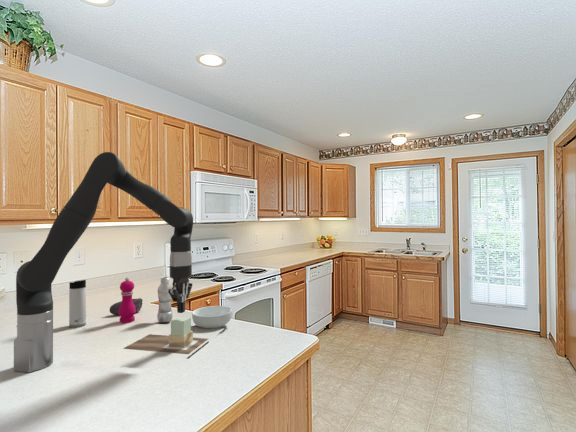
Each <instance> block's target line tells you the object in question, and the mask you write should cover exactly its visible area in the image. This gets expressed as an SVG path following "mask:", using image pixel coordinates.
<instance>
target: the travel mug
mask: <svg viewBox="0 0 576 432" xmlns="http://www.w3.org/2000/svg"><path fill="white" fill-rule="evenodd" d="M68 293H69V295H68V296H69V297H68V298H69V301H68V302H69V303H68V306H69V307H68V311H69V312H68V315H69V317H68V318H69V320H68V321H69V324H68V325H69V326H68V327H69V328H73V329H74V328H81V327H84V326H86V325H87V280H86V279H83V280H82V279H81V280H76V281H72V282H71V281H70V282H69V291H68Z"/></svg>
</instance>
